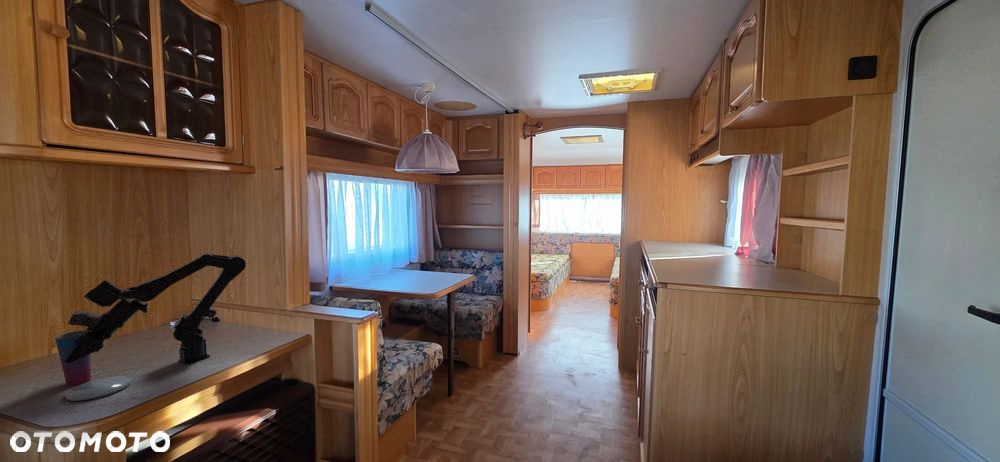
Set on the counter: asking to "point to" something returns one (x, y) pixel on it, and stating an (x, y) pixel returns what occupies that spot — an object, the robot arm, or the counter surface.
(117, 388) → the saucer
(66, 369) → the cup
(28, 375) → the counter surface
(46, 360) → the counter surface
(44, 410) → the counter surface
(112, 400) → the counter surface
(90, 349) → the robot arm
